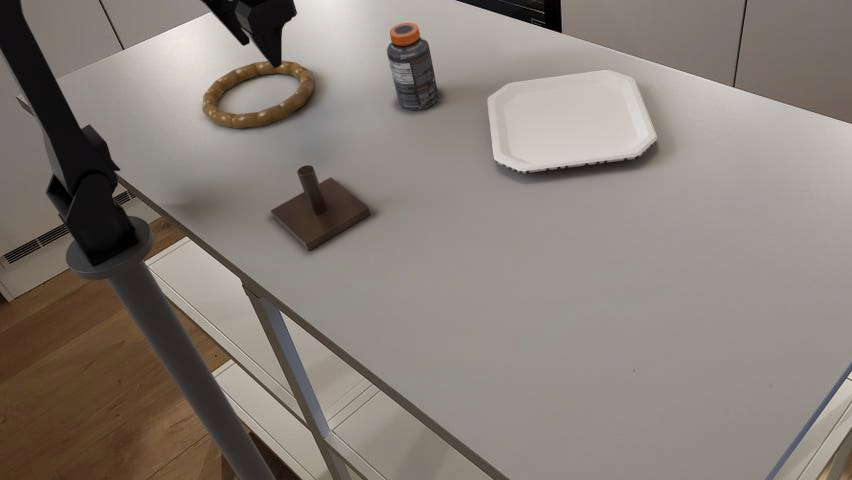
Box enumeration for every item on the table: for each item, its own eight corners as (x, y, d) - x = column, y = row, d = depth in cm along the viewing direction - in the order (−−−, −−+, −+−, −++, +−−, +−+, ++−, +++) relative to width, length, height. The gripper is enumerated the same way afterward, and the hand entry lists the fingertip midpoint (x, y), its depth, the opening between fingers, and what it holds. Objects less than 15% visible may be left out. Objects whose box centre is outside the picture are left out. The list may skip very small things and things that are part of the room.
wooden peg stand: (308, 251, 90) (290, 205, 85) (273, 217, 95) (254, 172, 90) (370, 214, 93) (357, 168, 88) (333, 184, 99) (318, 138, 94)
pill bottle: (432, 85, 113) (419, 13, 105) (443, 104, 109) (430, 32, 101) (394, 95, 113) (378, 24, 105) (403, 115, 108) (387, 43, 100)
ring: (236, 144, 108) (231, 133, 107) (187, 101, 119) (182, 90, 117) (335, 94, 115) (332, 83, 113) (281, 57, 125) (277, 46, 124)
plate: (487, 98, 109) (485, 85, 107) (630, 79, 108) (630, 65, 107) (497, 187, 94) (495, 173, 93) (663, 165, 93) (664, 151, 92)
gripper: (316, -70, 87) (348, 53, 98) (244, -101, 98) (281, 11, 109) (229, -35, 83) (274, 89, 94) (165, -72, 94) (211, 42, 105)
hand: (261, 55), depth 101 cm, fingers open, 9 cm apart
